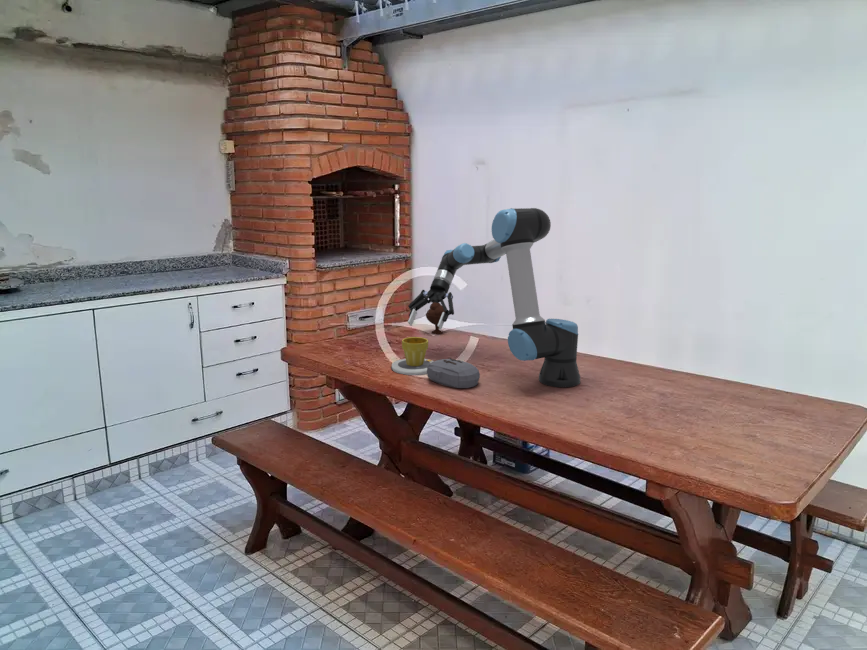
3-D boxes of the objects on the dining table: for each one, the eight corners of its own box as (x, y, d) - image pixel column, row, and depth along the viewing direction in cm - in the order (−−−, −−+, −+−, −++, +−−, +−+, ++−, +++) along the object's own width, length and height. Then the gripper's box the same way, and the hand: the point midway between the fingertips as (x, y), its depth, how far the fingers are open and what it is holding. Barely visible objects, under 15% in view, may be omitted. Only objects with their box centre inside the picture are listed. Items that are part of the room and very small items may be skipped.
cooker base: (446, 368, 258) (446, 364, 257) (411, 378, 246) (411, 373, 246) (417, 359, 271) (417, 354, 270) (382, 367, 259) (382, 363, 259)
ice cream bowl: (423, 334, 311) (423, 303, 307) (430, 329, 321) (430, 299, 318) (444, 336, 308) (444, 305, 304) (450, 331, 318) (451, 300, 315)
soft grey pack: (421, 381, 243) (461, 393, 230) (421, 359, 241) (461, 370, 228) (449, 372, 254) (489, 383, 240) (449, 351, 252) (489, 362, 238)
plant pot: (427, 368, 253) (427, 343, 250) (401, 367, 253) (400, 343, 251) (428, 360, 263) (428, 336, 261) (403, 360, 263) (402, 336, 261)
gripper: (471, 290, 269) (455, 334, 259) (418, 286, 280) (401, 327, 271) (466, 280, 263) (449, 323, 253) (412, 275, 274) (394, 317, 265)
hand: (424, 325), depth 262 cm, fingers open, 13 cm apart
